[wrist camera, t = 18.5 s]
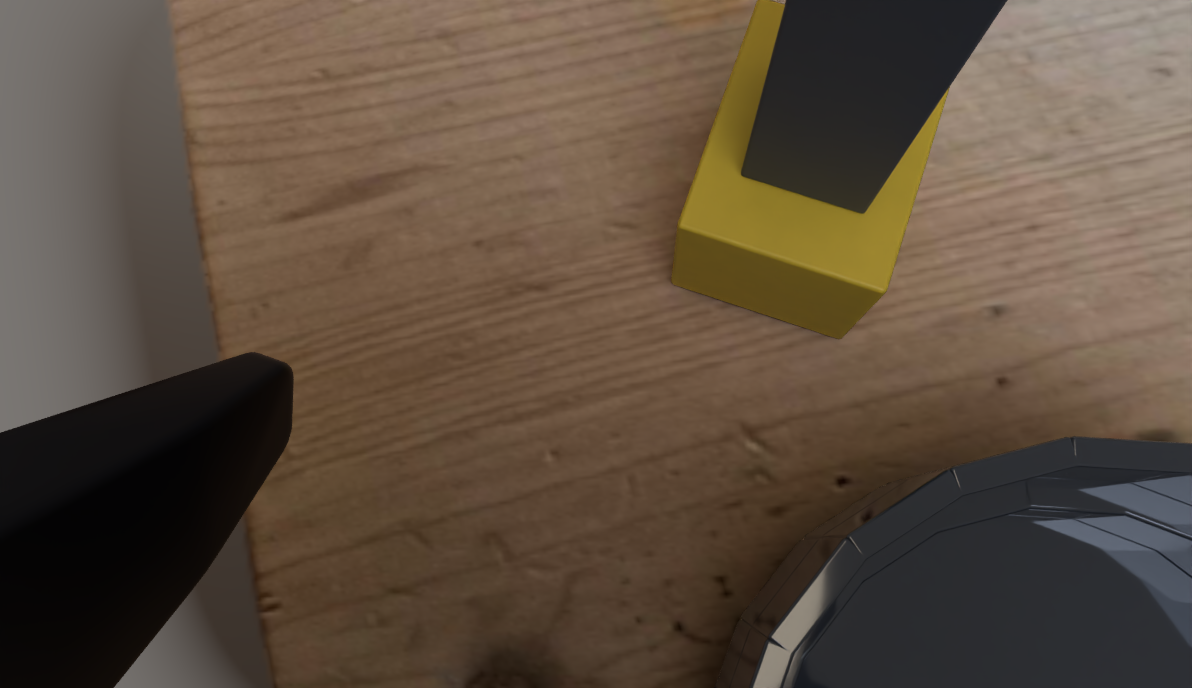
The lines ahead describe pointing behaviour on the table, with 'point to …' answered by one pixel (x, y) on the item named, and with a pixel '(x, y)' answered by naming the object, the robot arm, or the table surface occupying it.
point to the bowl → (990, 579)
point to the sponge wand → (821, 154)
